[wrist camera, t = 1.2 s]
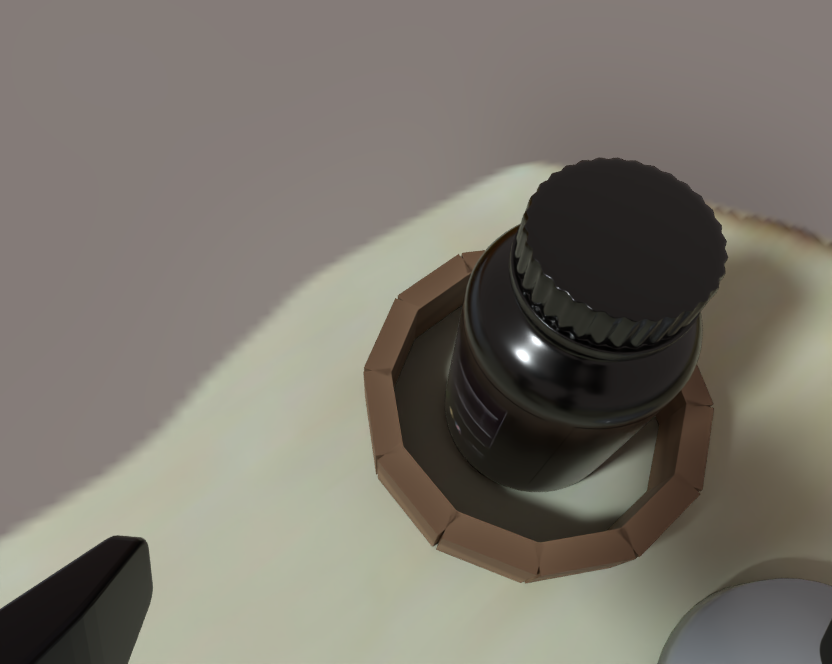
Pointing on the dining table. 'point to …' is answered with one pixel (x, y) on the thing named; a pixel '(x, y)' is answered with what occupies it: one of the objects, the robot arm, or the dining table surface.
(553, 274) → the supplement bottle
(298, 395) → the dining table surface
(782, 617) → the coaster
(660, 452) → the ring holder
